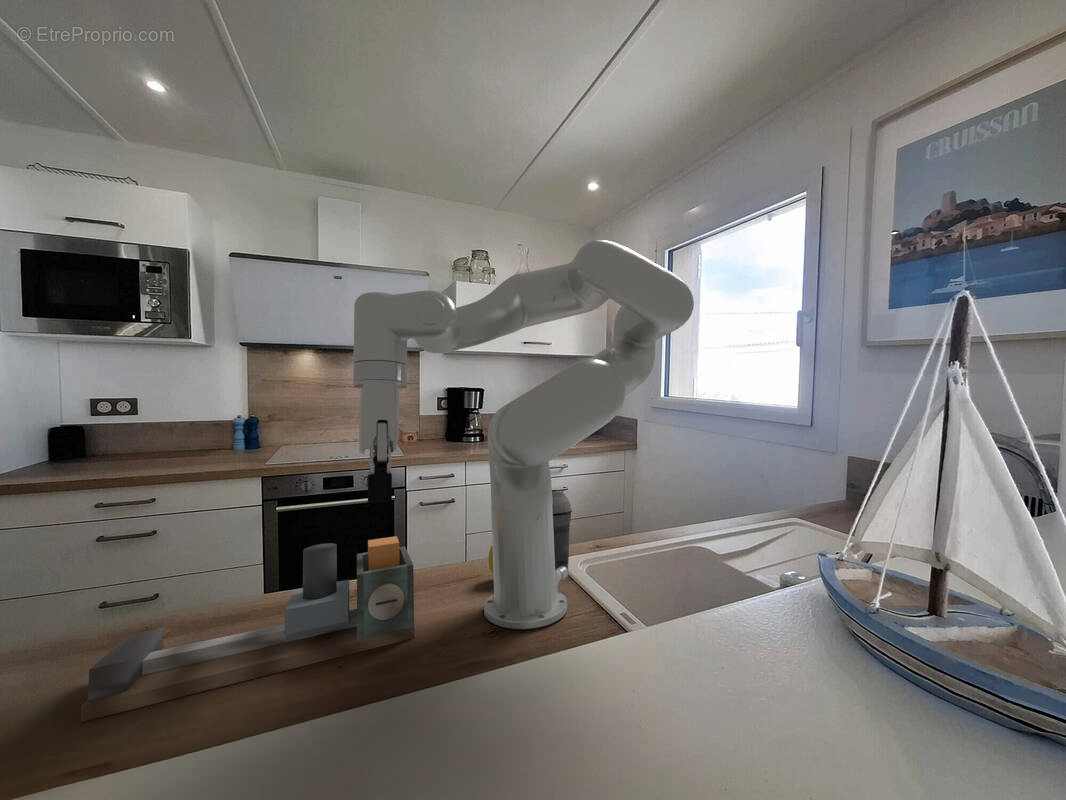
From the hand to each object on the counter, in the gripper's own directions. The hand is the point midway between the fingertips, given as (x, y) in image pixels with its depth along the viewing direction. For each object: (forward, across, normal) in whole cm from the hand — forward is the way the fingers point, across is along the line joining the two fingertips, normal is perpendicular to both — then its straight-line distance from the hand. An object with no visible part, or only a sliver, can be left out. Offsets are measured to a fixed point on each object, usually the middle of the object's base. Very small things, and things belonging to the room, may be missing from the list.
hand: (379, 501), depth 56 cm
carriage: (+15, 0, -7) cm, 17 cm away
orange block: (+10, 0, +1) cm, 10 cm away
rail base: (+18, 0, -12) cm, 21 cm away
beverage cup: (+17, -6, +32) cm, 36 cm away
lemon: (+18, -7, +22) cm, 29 cm away
